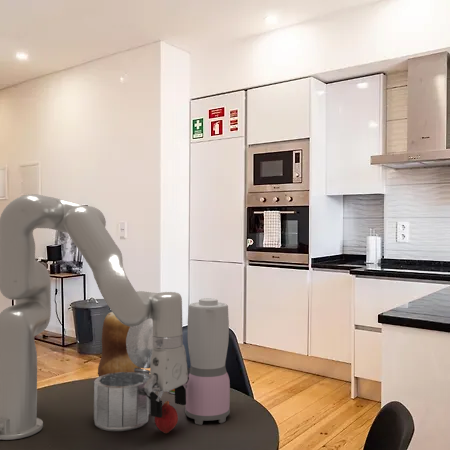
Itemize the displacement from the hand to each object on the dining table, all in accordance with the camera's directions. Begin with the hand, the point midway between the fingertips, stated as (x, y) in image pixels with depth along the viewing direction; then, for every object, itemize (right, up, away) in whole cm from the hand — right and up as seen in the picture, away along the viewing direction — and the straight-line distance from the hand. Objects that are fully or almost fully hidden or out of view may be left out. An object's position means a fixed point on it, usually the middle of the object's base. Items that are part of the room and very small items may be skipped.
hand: (168, 410), depth 125 cm
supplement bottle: (-1, -6, +32) cm, 32 cm away
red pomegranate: (-1, -6, 0) cm, 6 cm away
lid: (-9, +13, +15) cm, 22 cm away
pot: (-13, -6, +8) cm, 17 cm away
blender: (+9, -6, +13) cm, 17 cm away
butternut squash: (-19, -6, +33) cm, 38 cm away
